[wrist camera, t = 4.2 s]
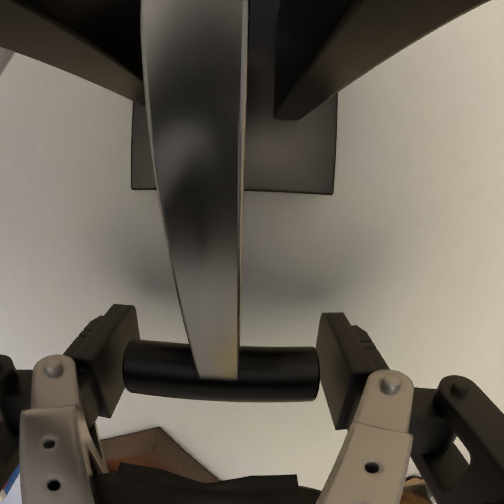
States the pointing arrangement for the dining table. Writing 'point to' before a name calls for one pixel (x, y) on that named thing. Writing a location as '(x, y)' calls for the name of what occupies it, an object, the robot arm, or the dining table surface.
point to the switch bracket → (259, 70)
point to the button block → (153, 454)
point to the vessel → (416, 492)
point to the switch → (205, 209)
